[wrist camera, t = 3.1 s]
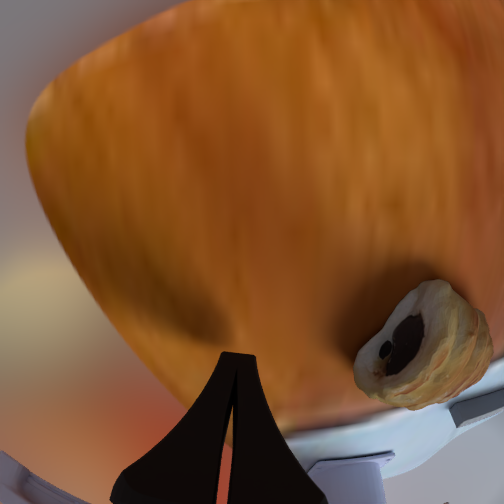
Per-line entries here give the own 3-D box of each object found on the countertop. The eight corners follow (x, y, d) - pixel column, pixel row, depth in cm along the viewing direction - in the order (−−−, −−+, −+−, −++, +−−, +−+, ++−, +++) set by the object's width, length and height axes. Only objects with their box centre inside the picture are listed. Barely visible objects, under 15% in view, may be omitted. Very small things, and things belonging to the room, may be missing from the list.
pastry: (498, 322, 12) (526, 361, 8) (429, 392, 15) (446, 434, 11) (423, 259, 10) (469, 313, 7) (332, 362, 13) (345, 425, 10)
